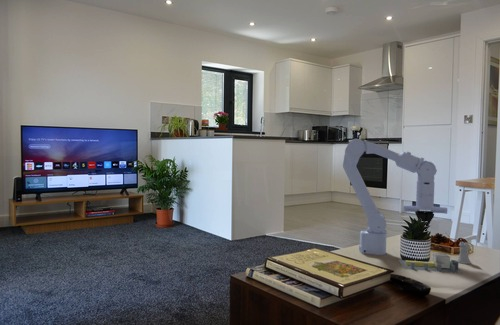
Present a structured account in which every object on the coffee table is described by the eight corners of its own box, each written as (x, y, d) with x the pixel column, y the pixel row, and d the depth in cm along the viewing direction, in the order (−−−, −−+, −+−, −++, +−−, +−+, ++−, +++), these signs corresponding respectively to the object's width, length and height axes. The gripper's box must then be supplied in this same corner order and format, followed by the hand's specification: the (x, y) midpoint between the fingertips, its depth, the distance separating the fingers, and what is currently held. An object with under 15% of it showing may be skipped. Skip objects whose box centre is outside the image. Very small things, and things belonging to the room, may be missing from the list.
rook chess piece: (469, 264, 128) (470, 241, 128) (472, 268, 124) (473, 244, 124) (454, 263, 130) (455, 240, 129) (457, 266, 125) (458, 243, 125)
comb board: (404, 272, 118) (404, 261, 118) (397, 263, 128) (398, 253, 128) (462, 276, 115) (462, 265, 115) (450, 267, 125) (451, 257, 125)
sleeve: (436, 267, 119) (436, 256, 119) (432, 263, 123) (432, 252, 123) (449, 268, 118) (450, 256, 118) (445, 264, 122) (445, 253, 122)
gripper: (406, 195, 130) (405, 233, 130) (451, 196, 127) (449, 236, 127) (401, 192, 137) (400, 229, 137) (444, 194, 134) (442, 231, 134)
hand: (423, 232), depth 133 cm, fingers closed
